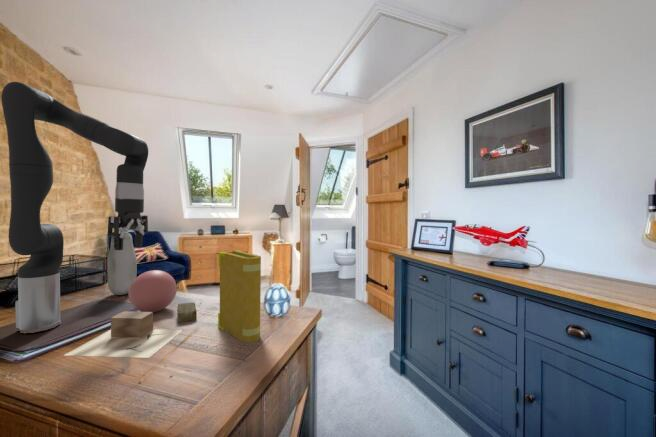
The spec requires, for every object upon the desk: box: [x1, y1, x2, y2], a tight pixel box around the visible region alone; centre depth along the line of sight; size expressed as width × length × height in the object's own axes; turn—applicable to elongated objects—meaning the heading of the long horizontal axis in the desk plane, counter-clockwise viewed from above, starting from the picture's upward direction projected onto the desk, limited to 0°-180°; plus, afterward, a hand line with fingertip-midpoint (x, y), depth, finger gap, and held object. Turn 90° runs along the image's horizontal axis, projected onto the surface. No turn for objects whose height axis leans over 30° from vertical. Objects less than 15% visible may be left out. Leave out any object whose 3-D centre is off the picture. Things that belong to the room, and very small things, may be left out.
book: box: [217, 249, 262, 343], centre depth 89 cm, size 17×7×25 cm, turn 47°
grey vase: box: [106, 231, 138, 296], centre depth 124 cm, size 10×10×28 cm
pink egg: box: [127, 269, 178, 313], centre depth 107 cm, size 15×20×15 cm
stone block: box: [176, 302, 198, 324], centre depth 98 cm, size 6×12×5 cm, turn 30°
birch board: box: [63, 328, 184, 359], centre depth 79 cm, size 22×16×2 cm
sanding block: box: [110, 310, 154, 339], centre depth 83 cm, size 9×5×6 cm, turn 89°
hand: (129, 248), depth 90 cm, fingers open, 8 cm apart
